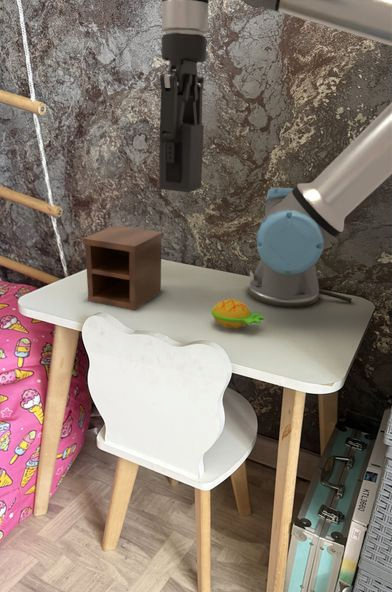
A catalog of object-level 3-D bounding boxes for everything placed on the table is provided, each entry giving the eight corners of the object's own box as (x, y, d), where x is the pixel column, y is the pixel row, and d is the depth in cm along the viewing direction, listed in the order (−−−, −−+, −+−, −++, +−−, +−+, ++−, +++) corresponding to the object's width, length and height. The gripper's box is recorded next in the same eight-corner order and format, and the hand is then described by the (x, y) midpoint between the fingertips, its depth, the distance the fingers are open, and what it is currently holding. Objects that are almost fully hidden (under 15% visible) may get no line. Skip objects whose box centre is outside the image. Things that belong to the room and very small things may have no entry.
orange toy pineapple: (218, 316, 104) (220, 291, 101) (266, 326, 100) (269, 300, 98) (204, 329, 98) (206, 302, 96) (255, 340, 94) (257, 313, 92)
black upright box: (201, 187, 99) (203, 124, 94) (189, 192, 94) (191, 126, 89) (172, 184, 101) (173, 122, 96) (159, 189, 96) (159, 124, 91)
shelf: (162, 291, 115) (163, 232, 109) (135, 310, 105) (135, 246, 99) (116, 283, 119) (114, 225, 113) (86, 301, 108) (82, 238, 102)
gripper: (185, 39, 95) (182, 171, 106) (137, 27, 79) (138, 184, 90) (224, 39, 93) (217, 175, 103) (182, 27, 77) (178, 188, 87)
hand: (180, 179), depth 97 cm, fingers closed on black upright box, 6 cm apart
